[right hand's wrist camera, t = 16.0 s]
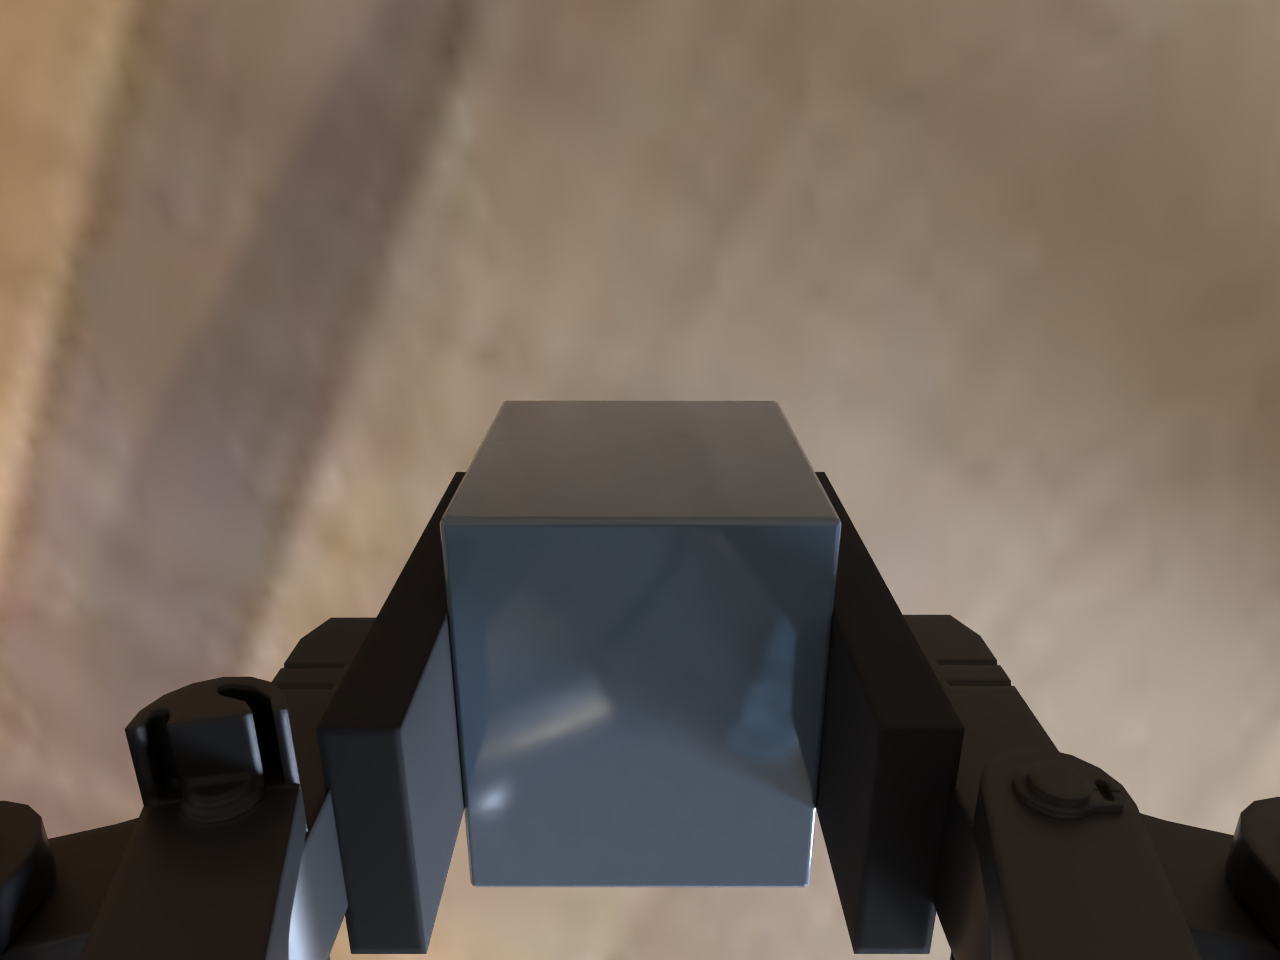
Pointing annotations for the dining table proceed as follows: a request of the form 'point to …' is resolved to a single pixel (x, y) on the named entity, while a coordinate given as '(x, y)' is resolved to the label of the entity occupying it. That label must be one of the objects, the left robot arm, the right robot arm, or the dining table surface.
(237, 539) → the dining table surface
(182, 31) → the dining table surface
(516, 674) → the block
